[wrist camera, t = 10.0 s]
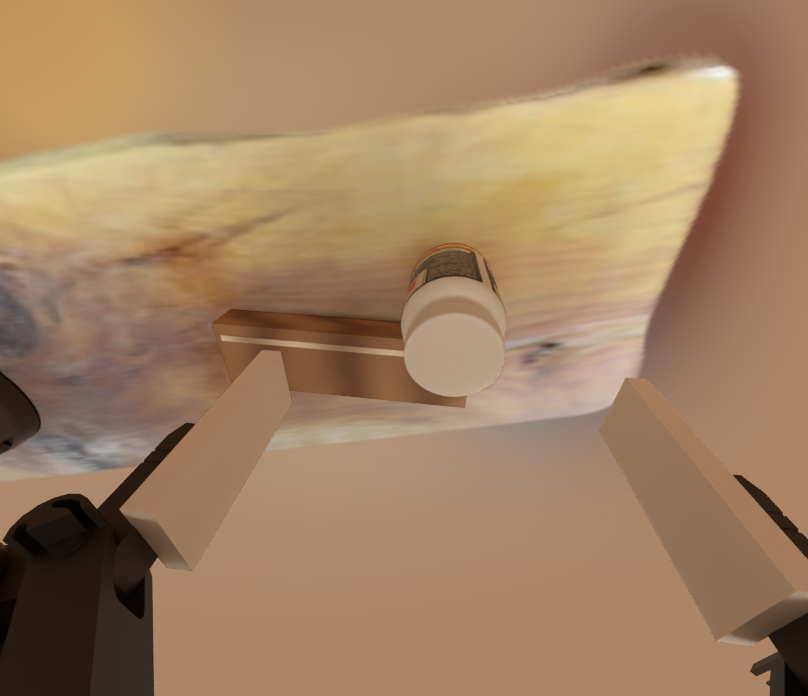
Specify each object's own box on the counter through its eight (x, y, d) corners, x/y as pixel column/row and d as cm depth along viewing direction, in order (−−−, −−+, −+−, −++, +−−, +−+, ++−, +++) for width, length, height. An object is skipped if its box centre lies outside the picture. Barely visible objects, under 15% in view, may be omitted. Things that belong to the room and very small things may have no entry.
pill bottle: (399, 297, 24) (372, 376, 16) (435, 226, 21) (426, 278, 13) (465, 329, 25) (472, 421, 16) (509, 265, 22) (545, 339, 13)
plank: (247, 367, 30) (231, 385, 27) (230, 309, 26) (210, 323, 24) (463, 388, 28) (464, 408, 26) (473, 328, 25) (475, 345, 22)
